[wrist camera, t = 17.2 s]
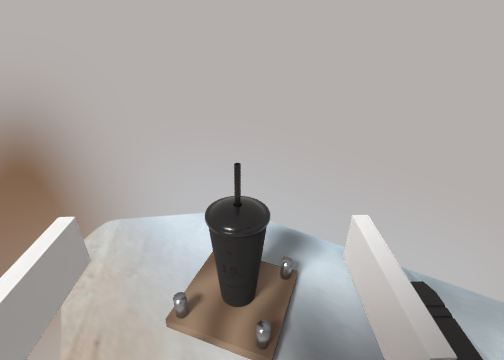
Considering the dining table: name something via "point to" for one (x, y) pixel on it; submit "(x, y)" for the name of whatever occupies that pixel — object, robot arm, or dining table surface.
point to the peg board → (236, 311)
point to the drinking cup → (237, 242)
